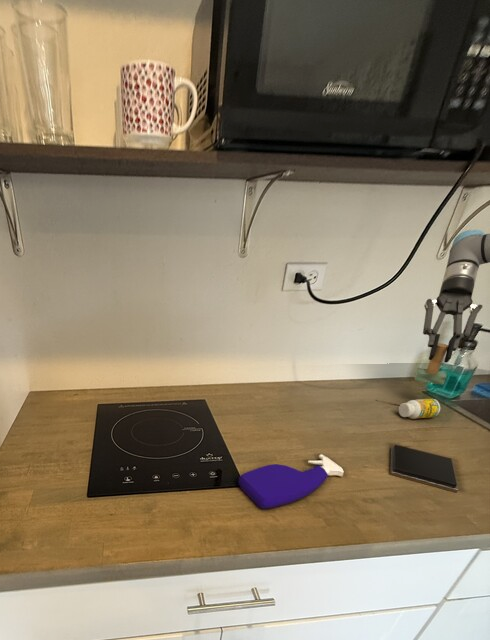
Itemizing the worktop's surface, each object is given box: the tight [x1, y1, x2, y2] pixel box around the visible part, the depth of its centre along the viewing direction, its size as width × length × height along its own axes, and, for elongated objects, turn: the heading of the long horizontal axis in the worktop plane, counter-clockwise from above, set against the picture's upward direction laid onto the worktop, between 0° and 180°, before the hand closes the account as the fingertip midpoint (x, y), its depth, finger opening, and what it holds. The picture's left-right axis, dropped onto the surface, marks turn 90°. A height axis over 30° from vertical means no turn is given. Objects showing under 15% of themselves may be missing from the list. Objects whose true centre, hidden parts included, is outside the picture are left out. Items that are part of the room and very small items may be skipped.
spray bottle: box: [238, 453, 344, 510], centre depth 84 cm, size 3×11×24 cm
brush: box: [414, 342, 448, 386], centre depth 109 cm, size 7×4×10 cm, turn 63°
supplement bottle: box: [398, 398, 441, 420], centre depth 110 cm, size 5×5×10 cm
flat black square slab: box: [389, 444, 459, 494], centre depth 90 cm, size 13×12×2 cm
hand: (439, 358), depth 105 cm, fingers closed on brush, 3 cm apart
